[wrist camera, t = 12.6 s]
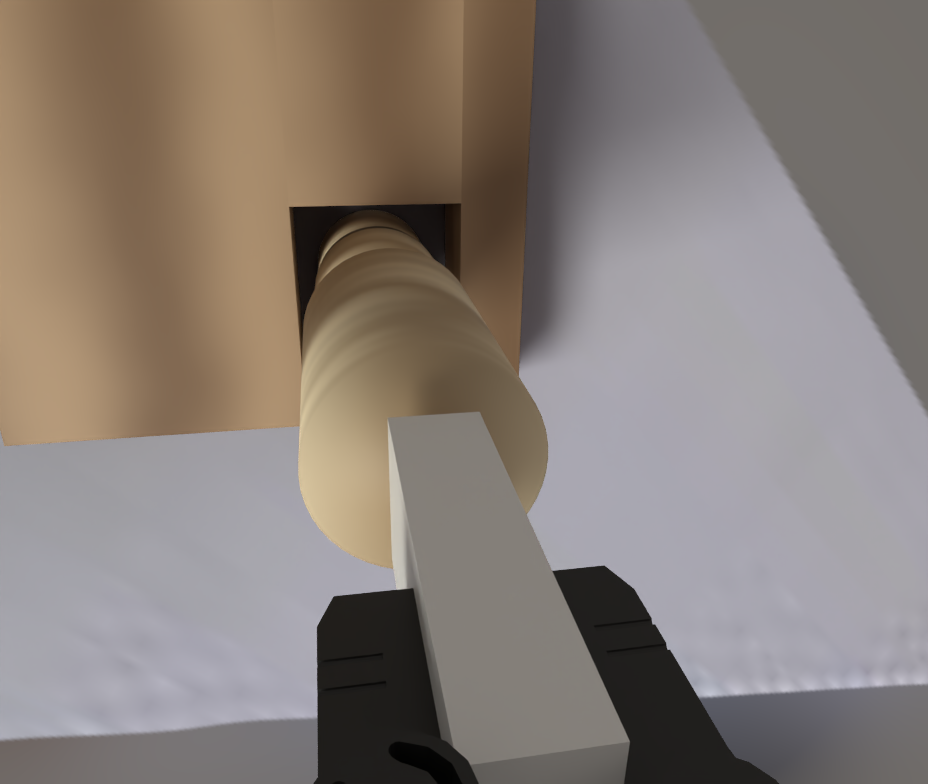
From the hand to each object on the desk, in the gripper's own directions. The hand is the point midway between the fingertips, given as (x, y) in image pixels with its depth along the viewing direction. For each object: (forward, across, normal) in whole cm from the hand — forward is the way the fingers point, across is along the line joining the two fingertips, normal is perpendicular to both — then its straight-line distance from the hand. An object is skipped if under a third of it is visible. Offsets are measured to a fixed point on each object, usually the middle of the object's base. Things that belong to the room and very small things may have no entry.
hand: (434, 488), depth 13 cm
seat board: (+15, -4, +2) cm, 15 cm away
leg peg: (+15, 0, 0) cm, 15 cm away
